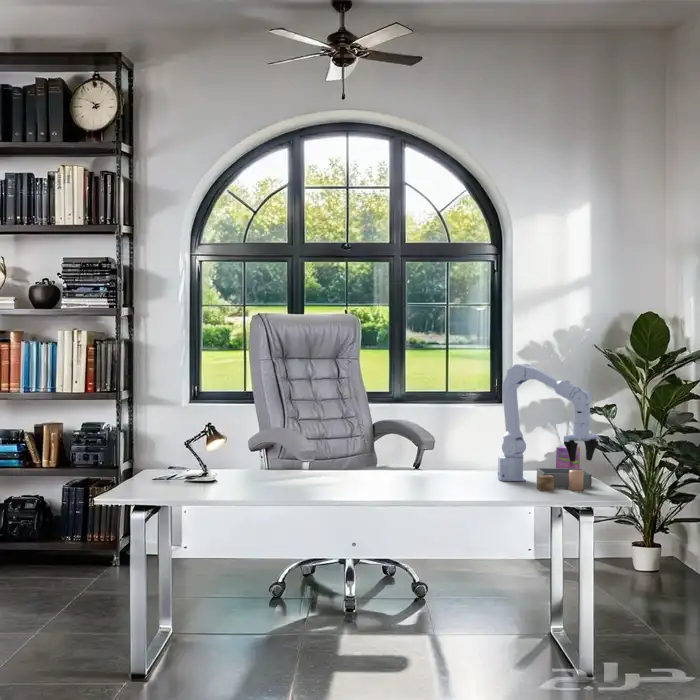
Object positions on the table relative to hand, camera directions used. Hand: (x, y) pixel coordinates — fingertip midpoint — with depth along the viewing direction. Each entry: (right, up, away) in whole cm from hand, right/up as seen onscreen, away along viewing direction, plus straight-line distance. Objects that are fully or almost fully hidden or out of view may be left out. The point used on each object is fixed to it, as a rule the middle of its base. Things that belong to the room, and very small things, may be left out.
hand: (580, 460), depth 329 cm
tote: (-5, -10, +5) cm, 12 cm away
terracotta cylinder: (-3, -10, -7) cm, 12 cm away
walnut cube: (-14, -10, -7) cm, 19 cm away
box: (+1, -9, +25) cm, 26 cm away
